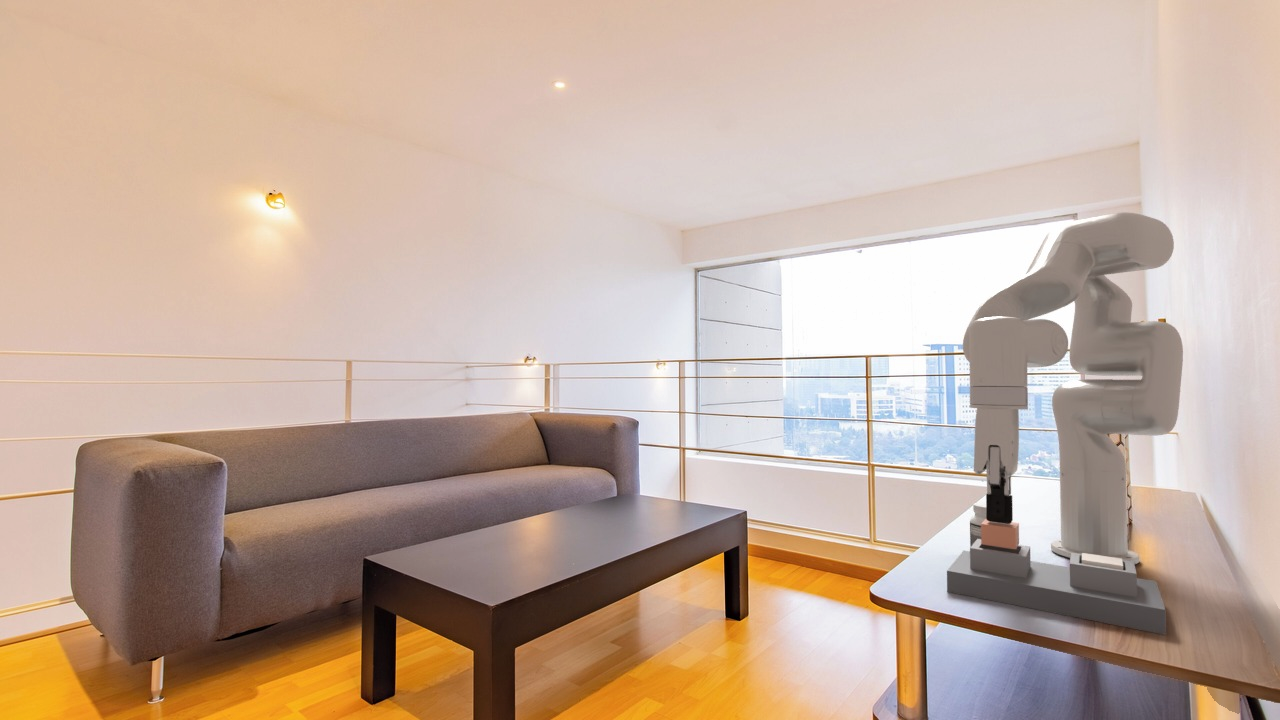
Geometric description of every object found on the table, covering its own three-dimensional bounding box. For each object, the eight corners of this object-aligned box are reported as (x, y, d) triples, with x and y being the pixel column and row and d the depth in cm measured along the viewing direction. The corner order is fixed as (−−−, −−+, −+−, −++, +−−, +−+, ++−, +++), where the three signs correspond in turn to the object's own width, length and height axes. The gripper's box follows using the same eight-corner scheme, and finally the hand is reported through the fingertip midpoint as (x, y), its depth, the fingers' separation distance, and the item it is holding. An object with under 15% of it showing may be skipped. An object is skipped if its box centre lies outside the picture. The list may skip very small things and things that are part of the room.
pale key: (1082, 574, 84) (1082, 552, 85) (1122, 580, 82) (1121, 558, 82) (1082, 581, 81) (1081, 559, 81) (1123, 589, 78) (1123, 565, 78)
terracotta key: (985, 538, 92) (985, 518, 92) (1019, 543, 89) (1018, 523, 89) (981, 544, 88) (980, 523, 88) (1016, 549, 86) (1015, 528, 86)
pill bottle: (984, 557, 104) (984, 501, 105) (1017, 567, 99) (1016, 507, 100) (963, 561, 102) (962, 503, 102) (995, 571, 97) (994, 509, 97)
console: (963, 568, 98) (963, 532, 98) (1156, 602, 83) (1155, 559, 83) (947, 591, 87) (946, 549, 87) (1166, 635, 72) (1164, 584, 72)
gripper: (977, 398, 98) (978, 510, 97) (961, 398, 86) (962, 526, 85) (1031, 399, 93) (1033, 517, 92) (1022, 400, 82) (1024, 535, 81)
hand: (999, 521), depth 89 cm, fingers closed
